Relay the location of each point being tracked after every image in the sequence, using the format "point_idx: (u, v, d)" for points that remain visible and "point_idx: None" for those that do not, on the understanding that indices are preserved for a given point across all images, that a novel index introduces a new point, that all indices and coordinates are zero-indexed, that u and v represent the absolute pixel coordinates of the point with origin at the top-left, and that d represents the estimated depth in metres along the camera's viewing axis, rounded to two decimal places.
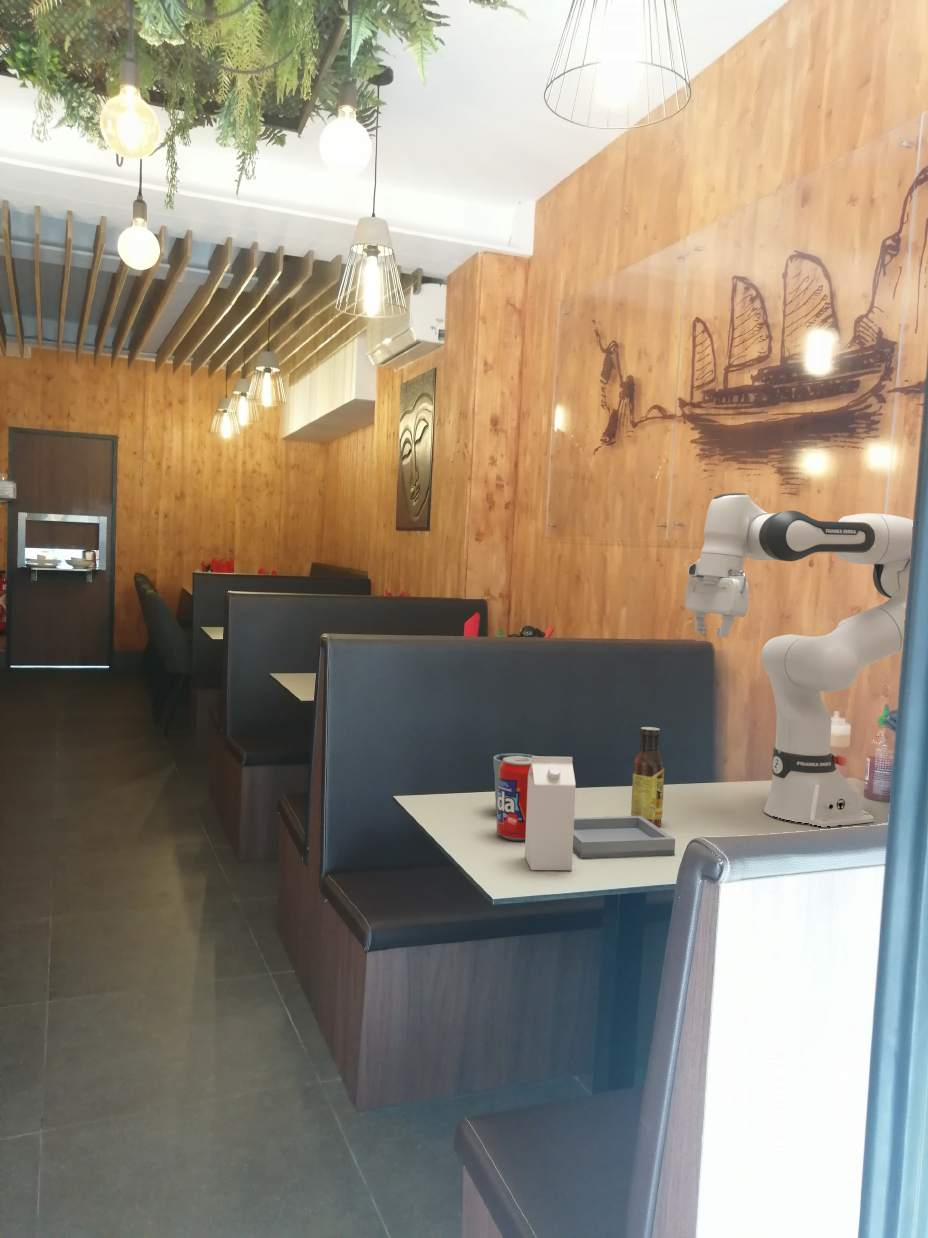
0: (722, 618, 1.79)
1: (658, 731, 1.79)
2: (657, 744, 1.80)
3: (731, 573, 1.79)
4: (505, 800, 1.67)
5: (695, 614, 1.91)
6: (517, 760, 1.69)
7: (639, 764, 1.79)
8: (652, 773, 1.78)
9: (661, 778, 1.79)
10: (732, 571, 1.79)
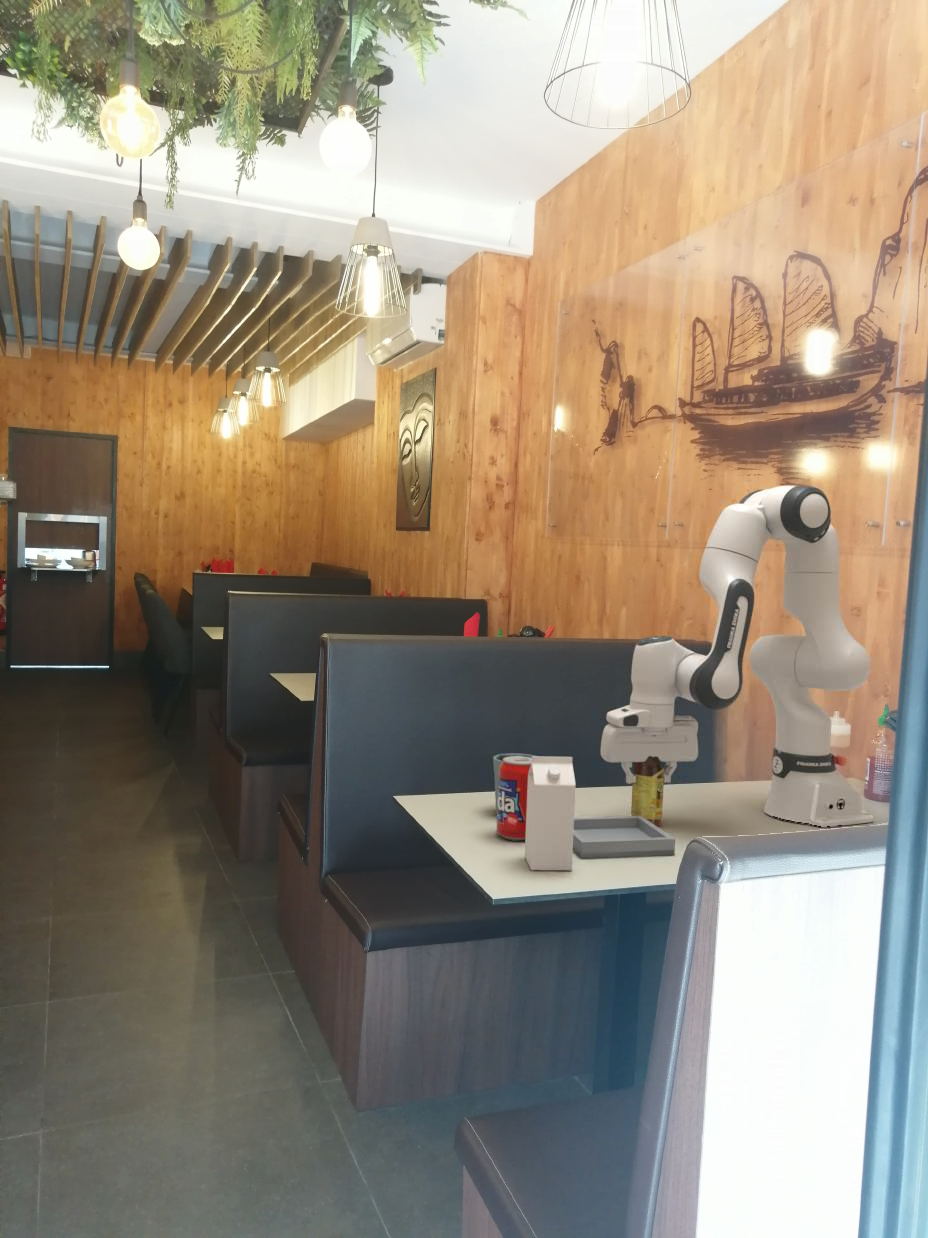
0: (672, 765, 1.81)
1: None
2: None
3: (678, 719, 1.81)
4: (505, 800, 1.67)
5: (628, 765, 1.79)
6: (517, 760, 1.69)
7: (639, 764, 1.79)
8: (652, 772, 1.78)
9: (661, 778, 1.79)
10: (678, 717, 1.81)
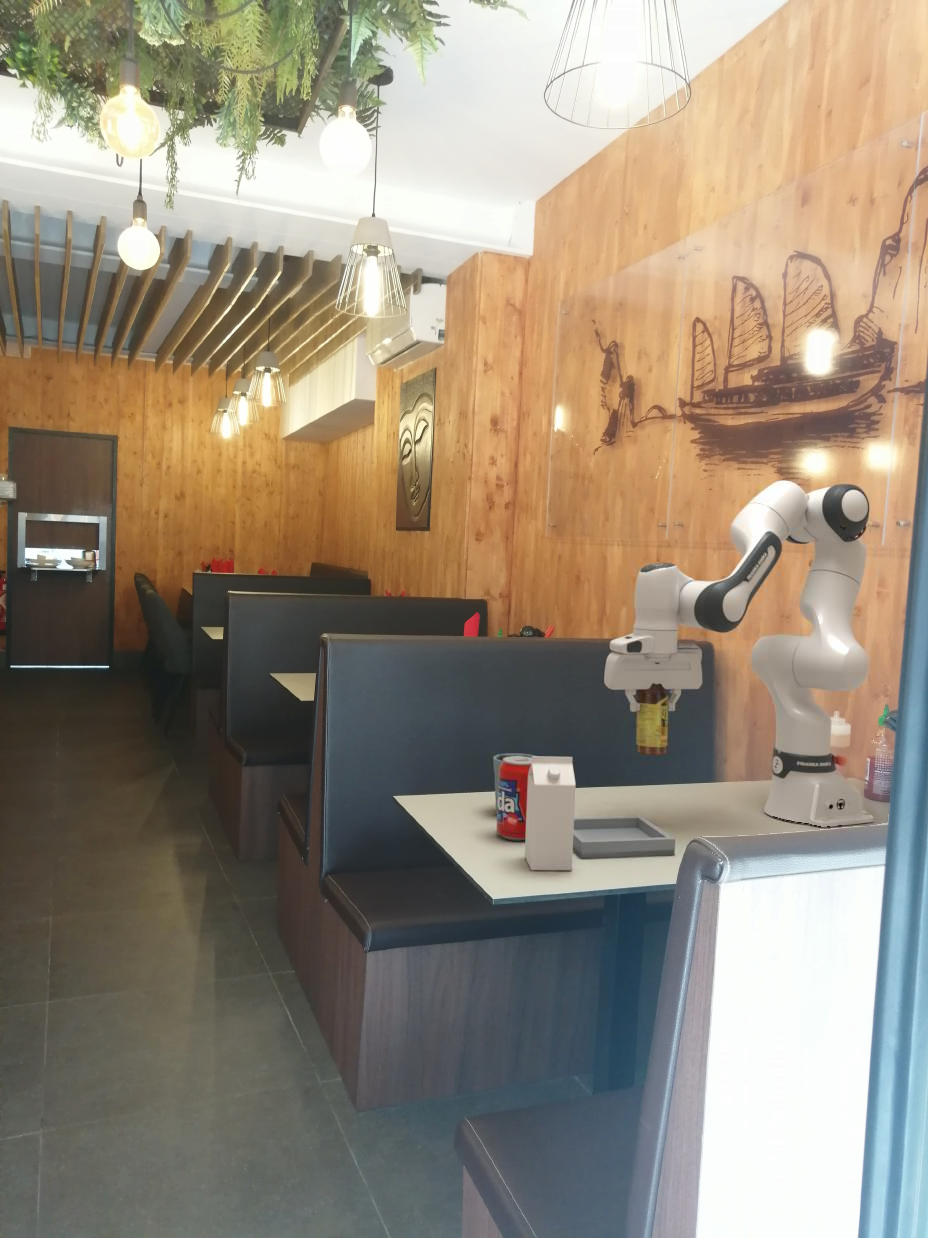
0: (676, 692, 1.80)
1: None
2: None
3: (681, 647, 1.80)
4: (505, 800, 1.67)
5: (632, 692, 1.78)
6: (517, 760, 1.69)
7: (643, 692, 1.78)
8: (656, 700, 1.77)
9: (665, 705, 1.78)
10: (682, 645, 1.80)
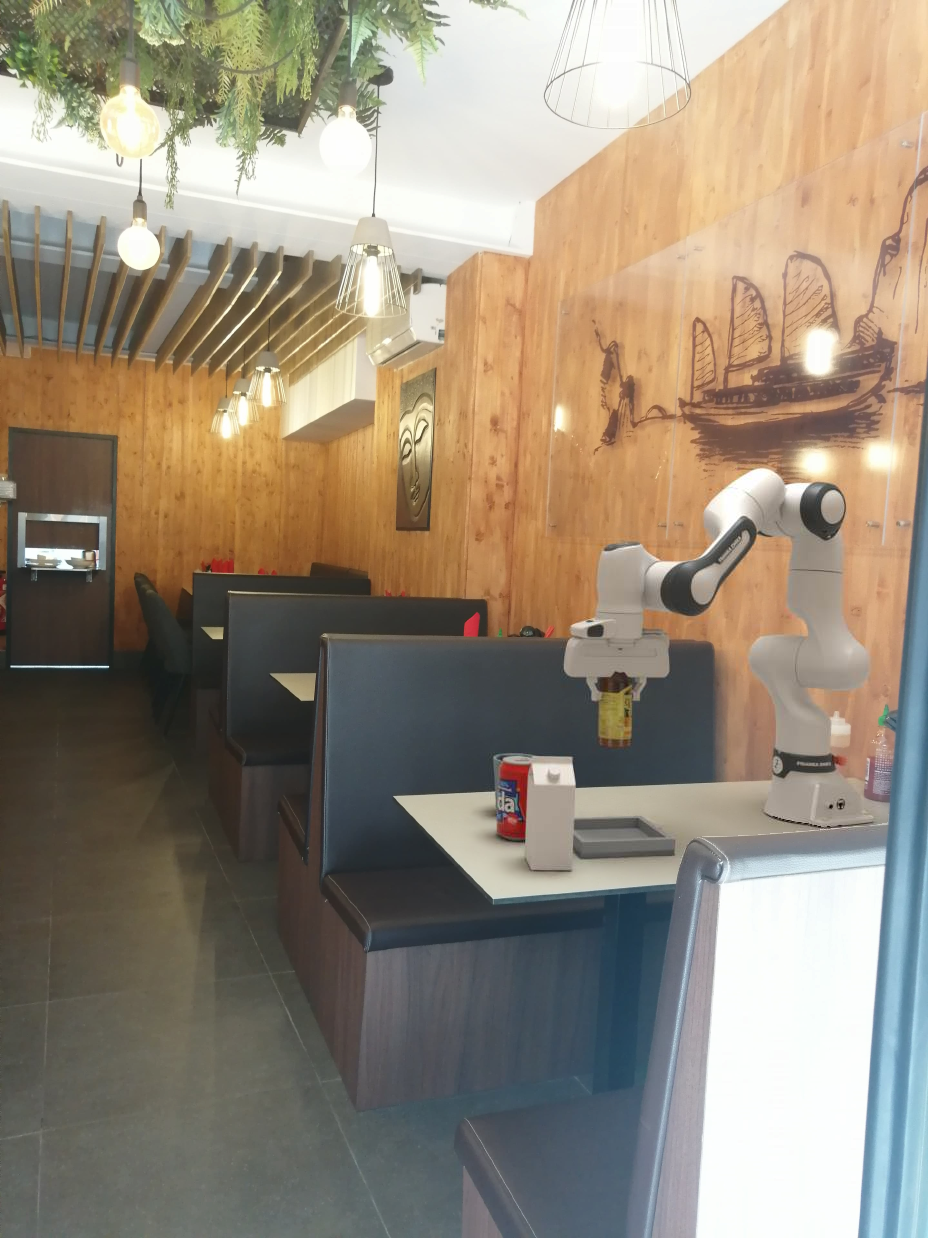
0: (641, 681, 1.68)
1: None
2: None
3: (647, 632, 1.68)
4: (505, 800, 1.67)
5: (593, 680, 1.66)
6: (517, 760, 1.69)
7: (605, 680, 1.66)
8: (618, 689, 1.65)
9: (629, 694, 1.66)
10: (648, 630, 1.68)
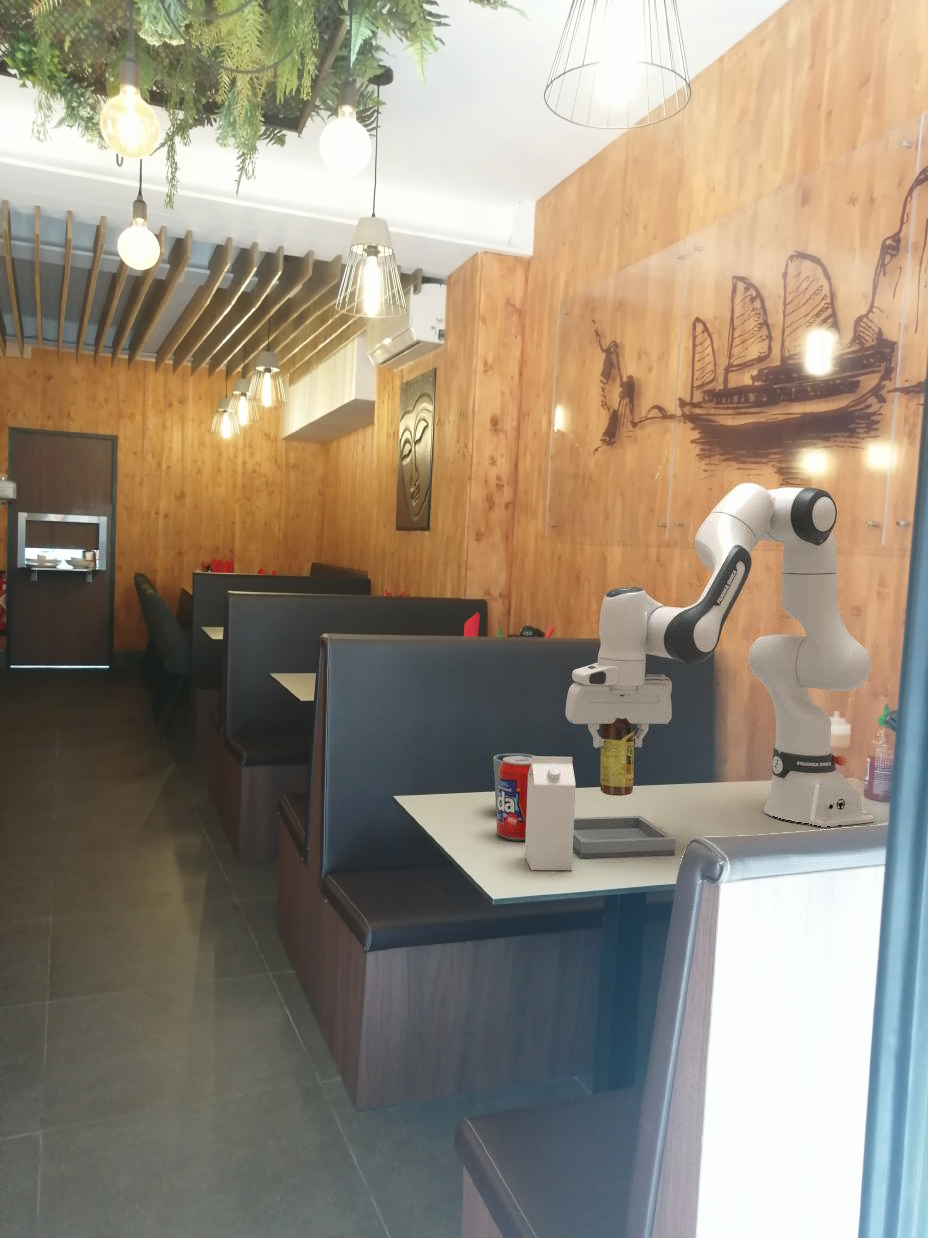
0: (644, 727, 1.66)
1: None
2: None
3: (649, 678, 1.67)
4: (505, 800, 1.67)
5: (595, 727, 1.64)
6: (517, 760, 1.69)
7: (607, 727, 1.65)
8: (621, 736, 1.64)
9: (631, 741, 1.64)
10: (650, 676, 1.67)
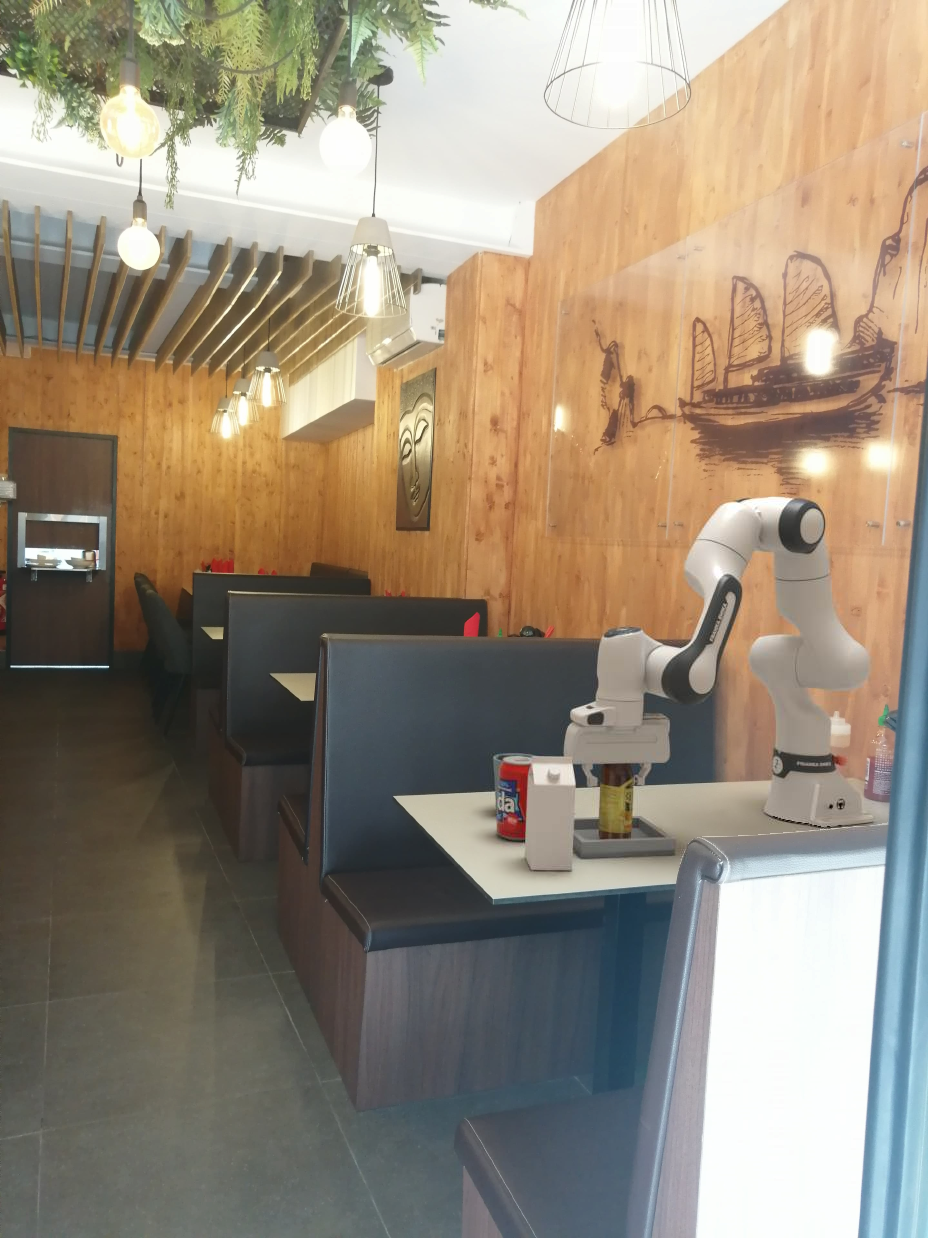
0: (646, 766, 1.67)
1: None
2: None
3: (647, 717, 1.67)
4: (505, 800, 1.67)
5: (588, 767, 1.64)
6: (517, 760, 1.69)
7: (606, 773, 1.66)
8: (620, 782, 1.64)
9: (630, 788, 1.65)
10: (648, 715, 1.67)
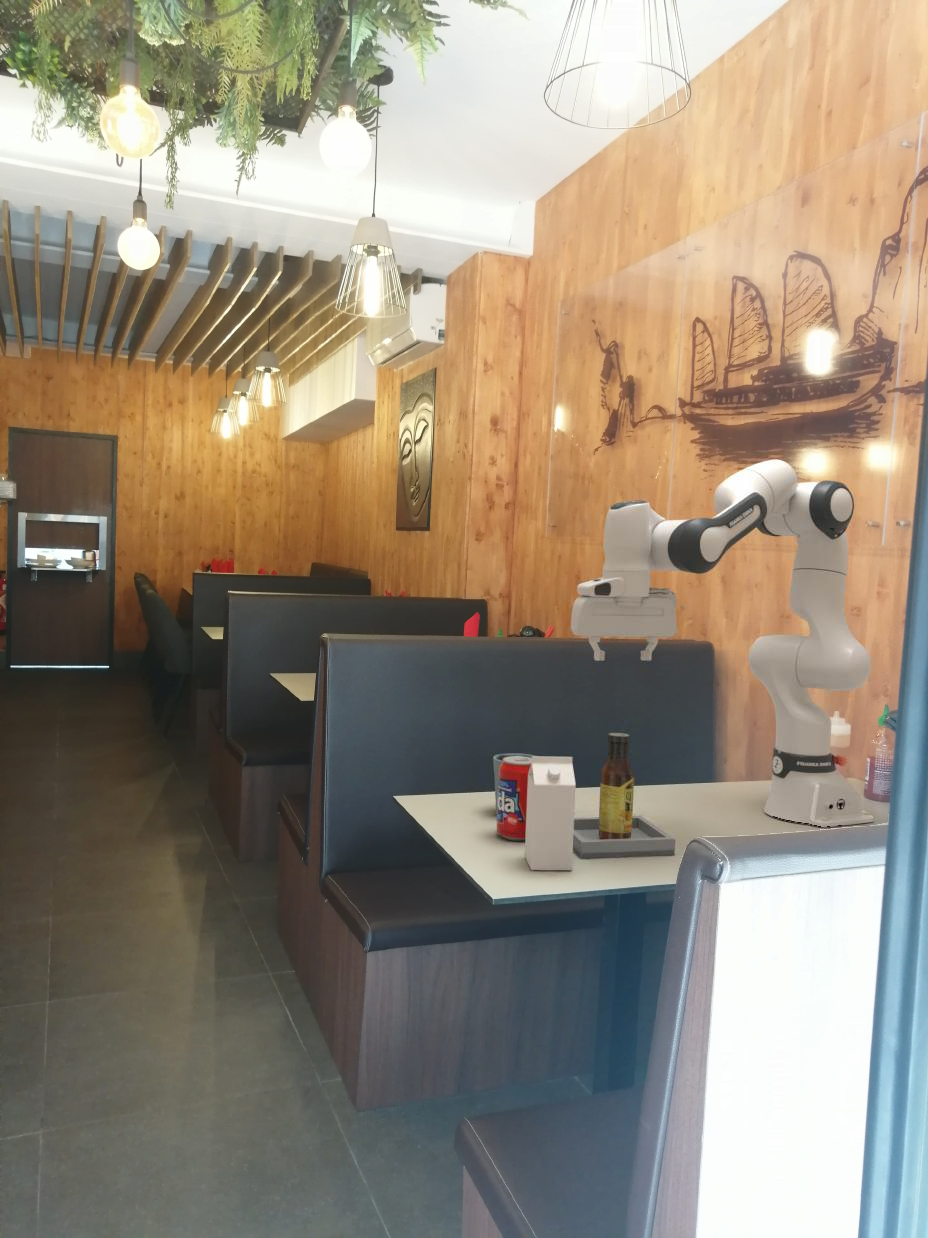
0: (653, 640, 1.67)
1: (627, 737, 1.66)
2: (626, 751, 1.66)
3: (654, 591, 1.67)
4: (505, 800, 1.67)
5: (596, 639, 1.65)
6: (517, 760, 1.69)
7: (606, 773, 1.66)
8: (620, 782, 1.64)
9: (630, 788, 1.65)
10: (655, 589, 1.67)
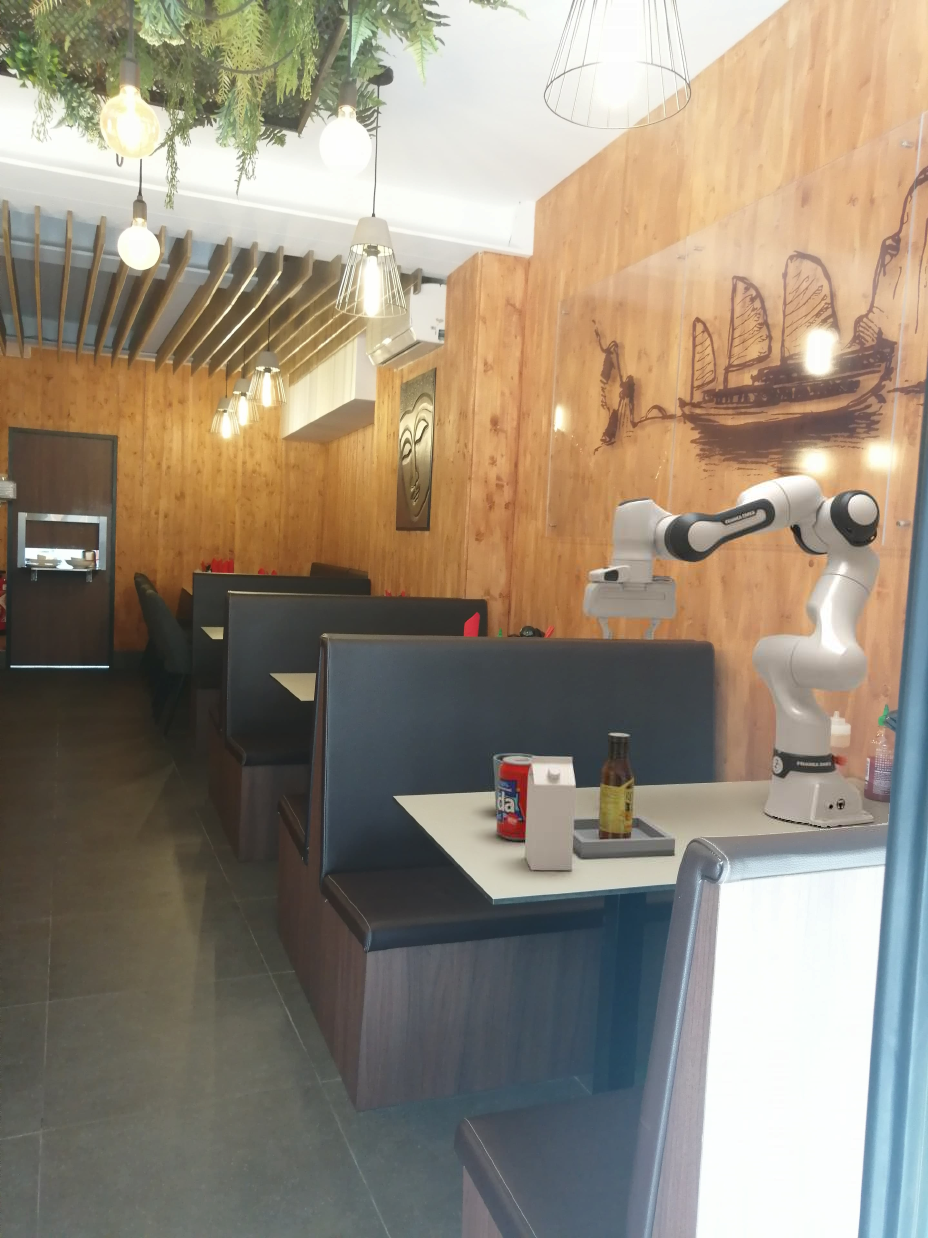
0: (655, 622, 1.90)
1: (627, 737, 1.66)
2: (626, 751, 1.66)
3: (656, 578, 1.90)
4: (505, 800, 1.67)
5: (605, 620, 1.87)
6: (517, 760, 1.69)
7: (607, 773, 1.66)
8: (620, 782, 1.64)
9: (631, 788, 1.65)
10: (657, 576, 1.90)
